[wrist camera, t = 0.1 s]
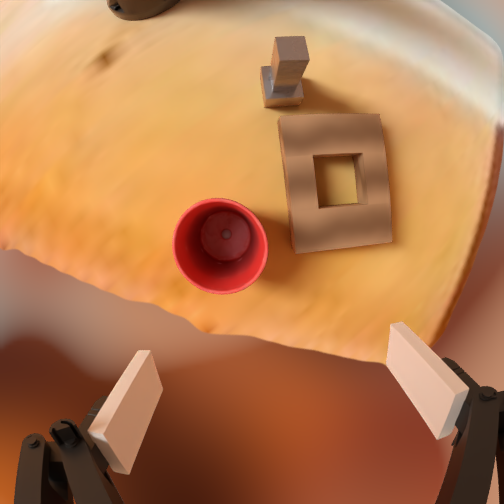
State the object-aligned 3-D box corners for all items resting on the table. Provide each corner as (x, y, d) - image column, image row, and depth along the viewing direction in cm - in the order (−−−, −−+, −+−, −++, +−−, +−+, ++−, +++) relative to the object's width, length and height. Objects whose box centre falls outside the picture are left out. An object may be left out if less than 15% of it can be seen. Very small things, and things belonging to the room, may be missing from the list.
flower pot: (247, 184, 40) (246, 182, 30) (274, 257, 42) (281, 276, 32) (178, 212, 40) (157, 219, 31) (206, 281, 43) (194, 307, 33)
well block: (277, 122, 38) (280, 116, 34) (368, 119, 38) (379, 114, 34) (291, 247, 42) (295, 253, 38) (380, 237, 41) (392, 242, 37)
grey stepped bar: (260, 77, 36) (263, 30, 23) (294, 75, 36) (312, 29, 23) (264, 107, 37) (270, 69, 24) (299, 105, 37) (321, 68, 24)
